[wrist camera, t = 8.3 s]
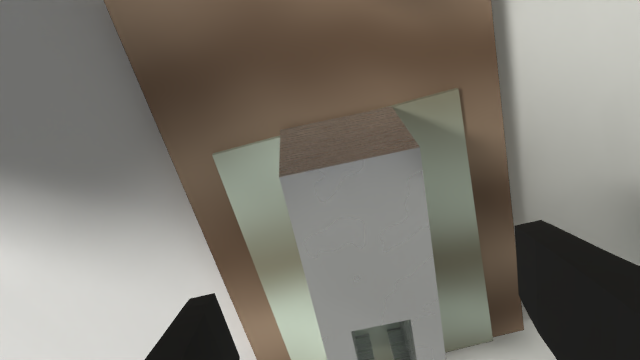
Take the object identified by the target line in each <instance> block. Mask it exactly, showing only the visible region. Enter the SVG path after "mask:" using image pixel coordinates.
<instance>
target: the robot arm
mask: <svg viewBox="0 0 640 360" xmlns="http://www.w3.org/2000/svg"><path fill="white" fill-rule="evenodd" d="M515 240H516V258H517V276H518V294H519V297H520V299H521V301H522V303H523V305H524V307H525V309H526V311H527V312H528V314H529V316H530V318H531V320H532V322H533V324H534V325H535V327H536V329H537V331H538V333H539V334H540V336H541V337H542V339H543V340H544V341H545V343H546V344H547V346H548V347H549V349H550V350H551V352H552V353H553V354H554V356H555V357H556V359H557V360H640V266H638V265H635V264H633V263H631V262H629V261H626V260H624V259H622V258H620V257H618V256H615V255H613V254H611V253H609V252H607V251H605V250H603V249H601V248H598V247H596V246H594V245H592V244H590V243H588V242H586V241H584V240H582V239H580V238H578V237H576V236H574V235H572V234H570V233H568V232H565V231H563V230H561V229H559V228H557V227H555V226H553V225H551V224H549V223H546V222H544V221H542V220H539V221H535V222H530V223H526V224H521V225H517V226H515ZM145 360H239V354H238V351H237V349H236V346H235V344H234V341H233V339H232V336H231V334H230V331H229V329H228V326H227V324H226V321H225V319H224V316H223V314H222V311H221V308H220V306H219V303H218V301H217V298H216V296H215V293H214V294H209V295H205V296H200V297H196V298H191V299H189V300H188V302H187V303H186V304H185V306H184V307H183V308H182V310H181V311H180V312H179V314H178V315H177V316H176V318H175V319H174V321H173V322H172V323H171V325H170V326H169V327H168V329H167V330H166V332H165V333H164V334H163V336H162V337H161V338H160V340H159V341H158V342H157V344H156V345H155V346H154V348H153V349H152V351H151V352H150V353H149V355H148V356H147V357H146V359H145Z"/></svg>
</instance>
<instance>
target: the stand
mask: <svg viewBox="0 0 640 360" xmlns="http://www.w3.org/2000/svg"><path fill="white" fill-rule="evenodd" d="M104 2H105V5H106V7H107V10H108V12H109V14H110V17H111V19H112V21H113V24H114V26H115V28H116V31H117V33H118V35H119V38H120V40H121V42H122V45H123V47H124V49H125V52H126V54H127V56H128V59H129V61H130V63H131V66H132V68H133V70H134V73H135V75H136V77H137V80H138V82H139V84H140V87H141V89H142V91H143V94H144V96H145V99H146V101H147V103H148V106H149V108H150V110H151V113H152V115H153V117H154V120H155V122H156V124H157V127H158V129H159V131H160V134H161V136H162V138H163V141H164V143H165V145H166V148H167V150H168V152H169V155H170V157H171V159H172V162H173V164H174V166H175V169H176V171H177V173H178V176H179V178H180V180H181V183H182V185H183V188H184V190H185V192H186V195H187V197H188V199H189V202H190V204H191V206H192V209H193V211H194V213H195V216H196V218H197V220H198V223H199V225H200V227H201V230H202V232H203V234H204V237H205V239H206V241H207V244H208V246H209V248H210V251H211V253H212V255H213V258H214V260H215V262H216V265H217V267H218V269H219V272H220V274H221V277H222V279H223V281H224V284H225V286H226V288H227V291H228V293H229V295H230V298H231V300H232V302H233V305H234V307H235V309H236V312H237V314H238V316H239V319H240V321H241V323H242V326H243V328H244V330H245V333H246V335H247V337H248V340H249V342H250V344H251V347H252V349H253V351H254V354H255V356H256V359H257V360H327V357H326V353H325V349H324V345H323V341H322V338H321V334H320V330H319V326H318V323H317V319H316V315H315V311H314V307H313V304H312V300H311V296H310V292H309V289H308V285H307V281H306V277H305V274H304V270H303V266H302V262H301V258H300V255H299V251H298V247H297V243H296V240H295V236H294V232H293V228H292V224H291V221H290V217H289V213H288V209H287V206H286V202H285V198H284V194H283V190H282V187H281V183H280V179H279V158H280V130H283V129H288V128H292V127H297V126H302V125H306V124H311V123H316V122H320V121H325V120H330V119H334V118H339V117H343V116H348V115H353V114H357V113H362V112H367V111H371V110H376V109H381V108H385V107H390V106H392V108H393V109H394V111H395V112H396V113H397V115H398V116H399V118H400V119H401V121H402V122H403V124H404V125H405V126H406V128H407V129H408V131H409V132H410V134H411V135H412V137H413V138H414V139H415V141H416V142H417V144H418V145H419V147H420V152H421V160H422V168H423V176H424V184H425V193H426V201H427V209H428V217H429V225H430V233H431V241H432V250H433V258H434V266H435V274H436V282H437V290H438V299H439V307H440V315H441V323H442V331H443V339H444V347H445V352H449V351H453V350H457V349H461V348H466V347H470V346H474V345H478V344H482V343H486V342H490V341H493V337H496V336H500V335H505V334H509V333H513V332H517V331H521V330H524V326H523V316H522V306H521V299H520V297H519V294H518V276H517V258H516V246H515V236H514V226H513V216H512V206H511V196H510V186H509V176H508V166H507V156H506V146H505V136H504V126H503V116H502V106H501V96H500V86H499V76H498V66H497V56H496V46H495V36H494V26H493V16H492V6H491V0H104ZM398 327H400V323H399V322H396V323H391V324H386V325H381V326H376V327H371V328H366V329H361V330H356V331H354V332H355V336H358V335H363V334H368V333H369V336H370V341H371V345H372V350H373V354H374V359H375V360H393V356H392V352H391V349H390V344H389V339H388V334H387V330H388V329H393V328H398Z"/></svg>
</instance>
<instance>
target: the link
mask: <svg viewBox="0 0 640 360" xmlns="http://www.w3.org/2000/svg"><path fill="white" fill-rule="evenodd" d="M279 179H280V183H281V187H282V190H283V194H284V198H285V202H286V206H287V209H288V213H289V217H290V221H291V224H292V228H293V232H294V236H295V240H296V243H297V247H298V251H299V255H300V258H301V262H302V266H303V270H304V274H305V277H306V281H307V285H308V289H309V292H310V296H311V300H312V304H313V307H314V311H315V315H316V319H317V323H318V326H319V330H320V334H321V338H322V341H323V345H324V349H325V353H326V357H327V360H375V359H374V354H373V350H372V345H371V341H370V336H369V333H368V334H363V335H358V336H355V332H354V331H356V330H361V329H366V328H371V327H376V326H381V325H386V324H391V323H396V322H399V323H400V327H398V328H393V329H388V330H387V334H388V339H389V344H390V349H391V352H392V356H393V360H446V356H445V347H444V339H443V331H442V323H441V315H440V307H439V299H438V290H437V282H436V274H435V266H434V258H433V250H432V241H431V233H430V225H429V217H428V209H427V201H426V193H425V184H424V176H423V168H422V160H421V152H420V147H419V145H418V144H417V142H416V141H415V139H414V138H413V137H412V135H411V134H410V132H409V131H408V129H407V128H406V126H405V125H404V124H403V122H402V121H401V119H400V118H399V116H398V115H397V113H396V112H395V111H394V109H393V108H392V106H390V107H385V108H381V109H376V110H371V111H367V112H362V113H357V114H353V115H348V116H343V117H339V118H334V119H330V120H325V121H320V122H316V123H311V124H306V125H302V126H297V127H292V128H288V129H283V130H280V158H279Z"/></svg>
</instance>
